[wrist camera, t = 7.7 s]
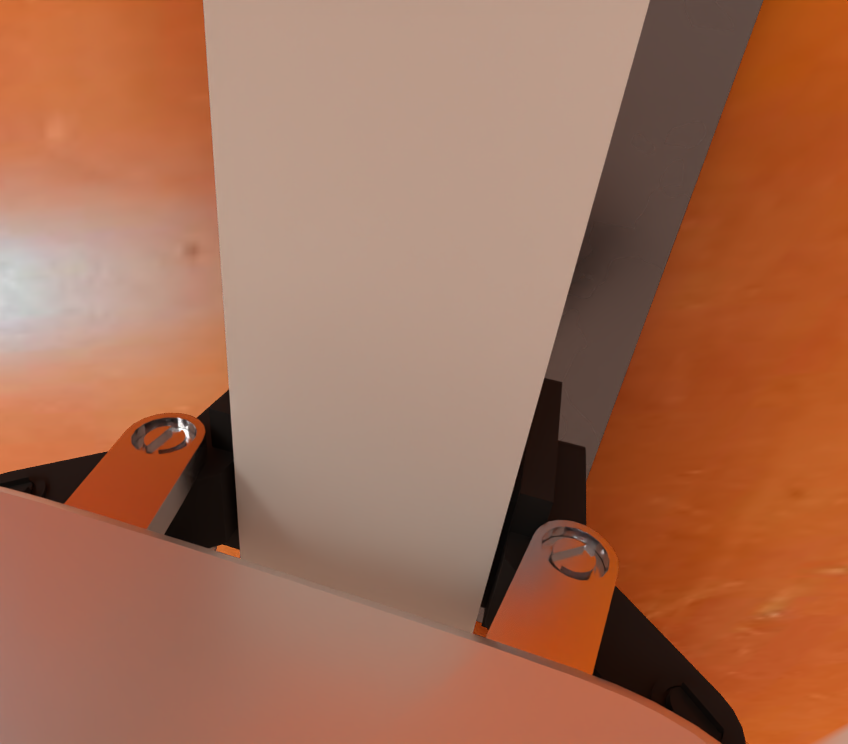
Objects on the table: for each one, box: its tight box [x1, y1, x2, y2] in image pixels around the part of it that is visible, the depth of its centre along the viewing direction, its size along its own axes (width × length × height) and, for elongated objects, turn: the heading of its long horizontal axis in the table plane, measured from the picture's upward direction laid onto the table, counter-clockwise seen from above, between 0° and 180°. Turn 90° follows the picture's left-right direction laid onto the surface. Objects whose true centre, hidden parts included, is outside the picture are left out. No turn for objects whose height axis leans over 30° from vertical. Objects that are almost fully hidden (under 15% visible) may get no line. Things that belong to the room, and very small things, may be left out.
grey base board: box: [476, 0, 763, 623], centre depth 18 cm, size 26×10×3 cm, turn 173°
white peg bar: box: [203, 0, 650, 633], centre depth 12 cm, size 18×4×8 cm, turn 173°
